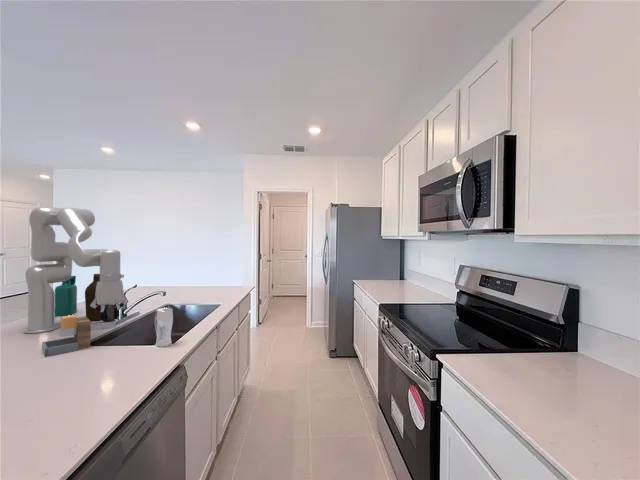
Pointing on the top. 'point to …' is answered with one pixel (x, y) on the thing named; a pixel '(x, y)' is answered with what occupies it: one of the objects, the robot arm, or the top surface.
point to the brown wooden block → (83, 333)
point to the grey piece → (96, 323)
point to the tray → (59, 346)
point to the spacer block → (69, 322)
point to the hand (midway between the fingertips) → (109, 319)
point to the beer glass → (163, 326)
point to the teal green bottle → (66, 298)
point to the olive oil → (89, 298)
